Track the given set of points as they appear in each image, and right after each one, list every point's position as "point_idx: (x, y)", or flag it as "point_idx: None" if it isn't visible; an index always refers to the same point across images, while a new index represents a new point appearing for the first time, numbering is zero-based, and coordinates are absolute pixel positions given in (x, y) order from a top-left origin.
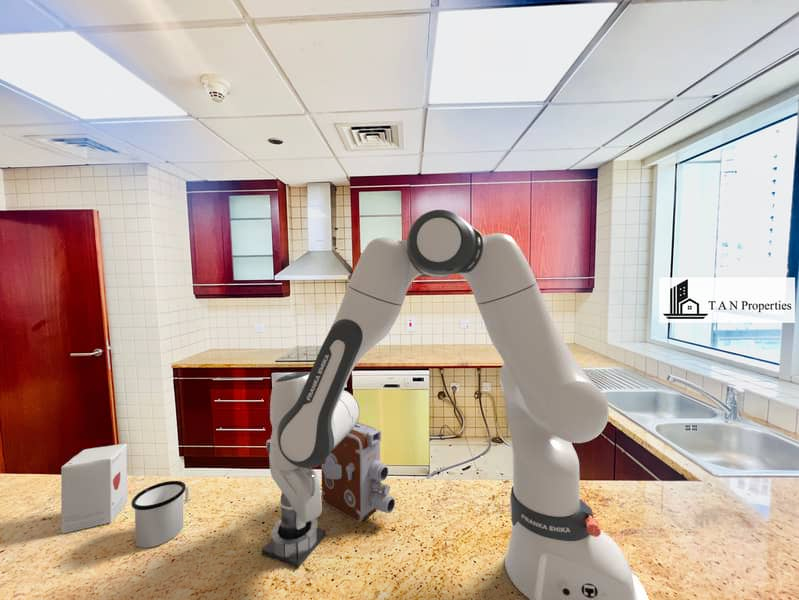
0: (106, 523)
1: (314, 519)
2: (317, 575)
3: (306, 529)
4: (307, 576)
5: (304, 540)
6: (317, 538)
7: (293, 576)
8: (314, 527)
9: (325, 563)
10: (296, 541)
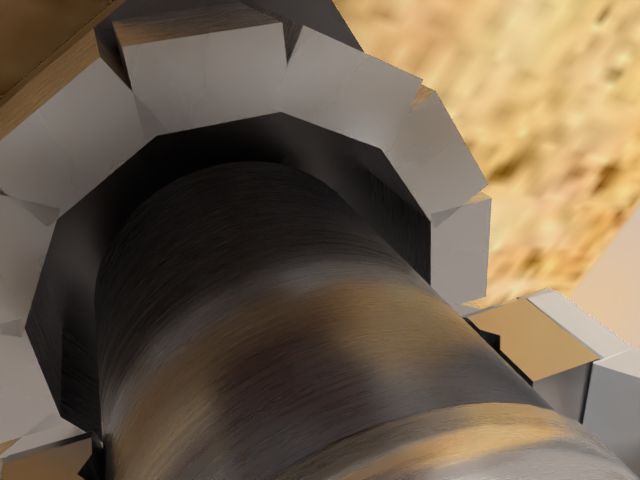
0: None
1: (234, 59)
2: (593, 114)
3: (304, 177)
4: (555, 178)
5: (487, 233)
6: (334, 34)
7: (497, 259)
8: (392, 100)
9: (552, 28)
10: (462, 307)
